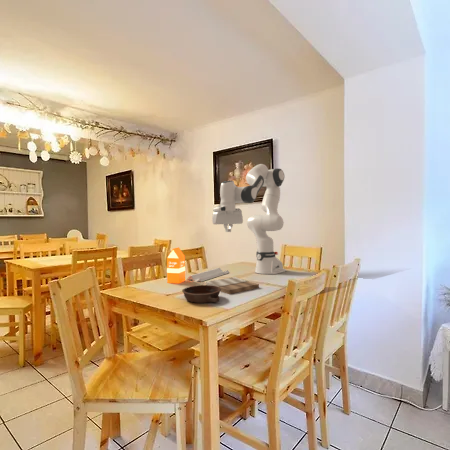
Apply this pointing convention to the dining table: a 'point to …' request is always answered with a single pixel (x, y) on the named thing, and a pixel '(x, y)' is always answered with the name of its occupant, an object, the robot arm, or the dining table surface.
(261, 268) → the robot arm
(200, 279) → the crown molding
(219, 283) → the grey striped panel
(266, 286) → the dining table surface
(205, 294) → the dish
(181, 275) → the orange juice
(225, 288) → the walnut floorboard
